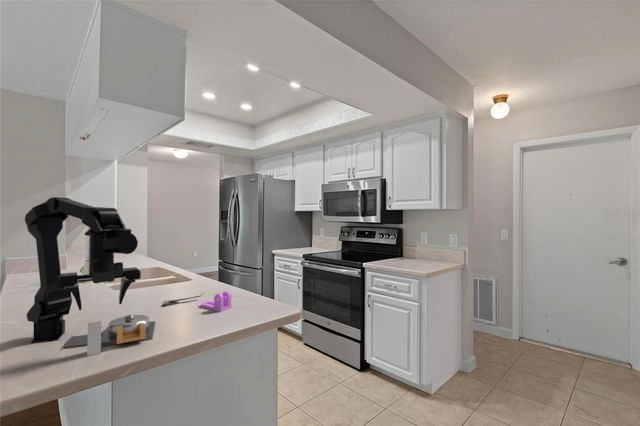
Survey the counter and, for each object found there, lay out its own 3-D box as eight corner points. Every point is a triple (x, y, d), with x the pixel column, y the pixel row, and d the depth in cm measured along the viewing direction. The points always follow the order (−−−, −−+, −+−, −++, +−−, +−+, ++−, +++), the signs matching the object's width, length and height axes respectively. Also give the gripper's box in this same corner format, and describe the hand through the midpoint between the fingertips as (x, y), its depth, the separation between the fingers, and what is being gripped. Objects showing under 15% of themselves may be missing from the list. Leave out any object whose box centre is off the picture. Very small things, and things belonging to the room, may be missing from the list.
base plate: (97, 346, 90) (97, 343, 90) (107, 329, 102) (107, 326, 102) (152, 339, 95) (152, 335, 95) (155, 323, 108) (155, 321, 108)
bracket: (231, 308, 127) (231, 291, 127) (220, 312, 122) (220, 294, 122) (208, 303, 133) (209, 287, 133) (198, 307, 129) (198, 290, 129)
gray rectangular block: (87, 355, 84) (87, 326, 84) (87, 351, 86) (88, 323, 86) (100, 353, 86) (101, 324, 86) (100, 349, 88) (101, 321, 88)
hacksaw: (162, 308, 127) (162, 304, 127) (154, 302, 134) (154, 299, 134) (217, 297, 144) (217, 294, 144) (207, 293, 151) (207, 290, 151)
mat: (63, 348, 88) (63, 347, 88) (71, 338, 95) (71, 336, 95) (97, 344, 91) (97, 342, 91) (103, 334, 98) (103, 332, 98)
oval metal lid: (108, 328, 100) (108, 314, 100) (146, 321, 106) (147, 308, 106) (108, 345, 88) (109, 329, 87) (152, 337, 94) (152, 322, 94)
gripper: (58, 258, 75) (57, 322, 75) (144, 252, 87) (143, 308, 87) (58, 252, 84) (57, 310, 84) (137, 248, 96) (136, 299, 96)
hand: (100, 306), depth 88 cm, fingers open, 9 cm apart
